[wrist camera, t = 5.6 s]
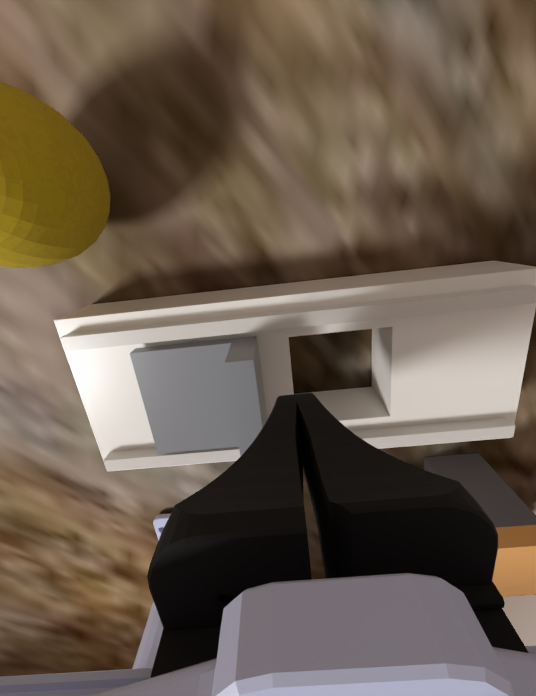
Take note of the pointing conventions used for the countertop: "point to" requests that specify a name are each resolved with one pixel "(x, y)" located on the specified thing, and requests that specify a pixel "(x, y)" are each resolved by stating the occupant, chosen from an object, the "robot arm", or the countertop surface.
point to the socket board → (318, 318)
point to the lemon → (46, 184)
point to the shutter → (202, 393)
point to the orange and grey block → (497, 519)
